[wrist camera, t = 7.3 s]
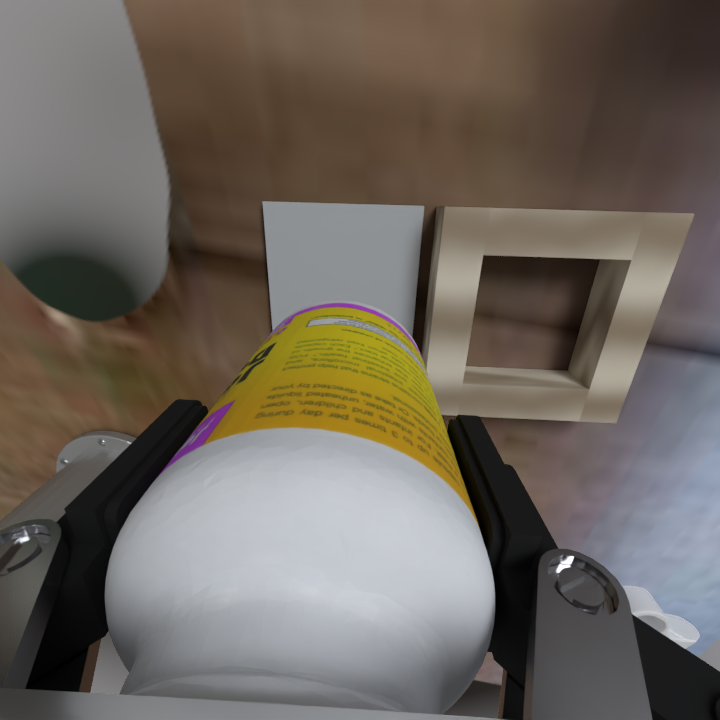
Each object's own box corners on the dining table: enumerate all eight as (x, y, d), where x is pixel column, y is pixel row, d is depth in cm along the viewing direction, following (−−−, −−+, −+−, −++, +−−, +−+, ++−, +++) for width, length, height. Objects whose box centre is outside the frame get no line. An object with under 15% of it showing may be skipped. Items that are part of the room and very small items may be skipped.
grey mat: (409, 353, 31) (410, 356, 31) (275, 348, 32) (274, 350, 31) (423, 205, 27) (424, 205, 26) (264, 201, 27) (262, 201, 26)
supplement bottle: (287, 269, 13) (-444, 801, 1) (449, 330, 14) (906, 1017, 2) (246, 413, 16) (-136, 1044, 4) (385, 458, 16) (426, 1101, 5)
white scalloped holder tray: (620, 676, 50) (524, 655, 49) (703, 599, 43) (592, 573, 42) (636, 707, 47) (534, 685, 46) (728, 629, 40) (609, 602, 39)
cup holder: (592, 401, 32) (615, 423, 29) (417, 393, 33) (421, 414, 30) (655, 212, 26) (694, 213, 23) (436, 206, 26) (444, 206, 23)
